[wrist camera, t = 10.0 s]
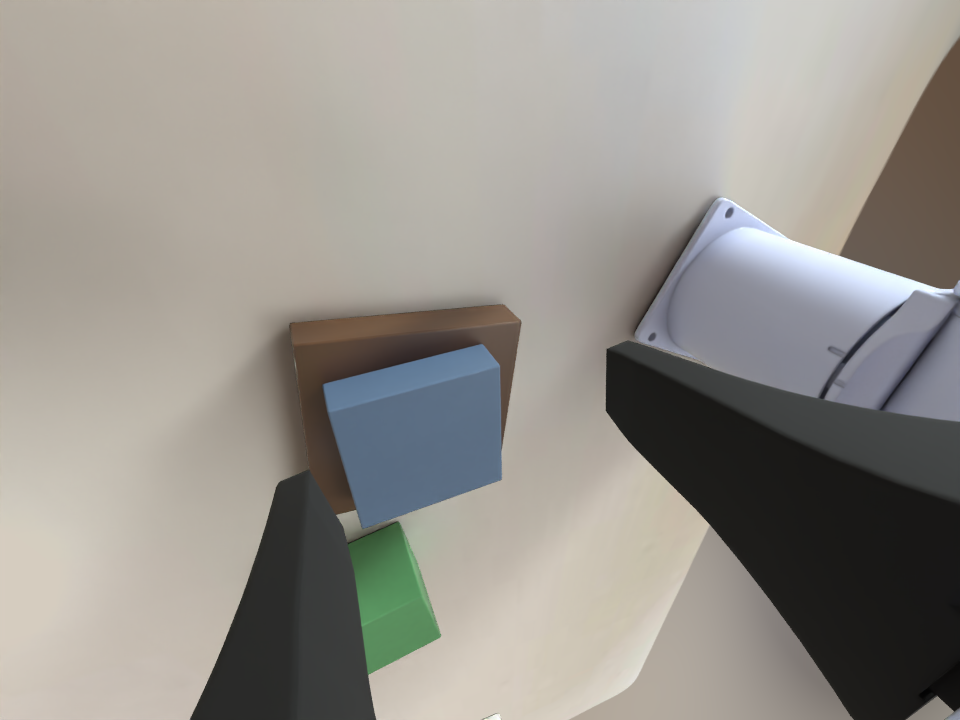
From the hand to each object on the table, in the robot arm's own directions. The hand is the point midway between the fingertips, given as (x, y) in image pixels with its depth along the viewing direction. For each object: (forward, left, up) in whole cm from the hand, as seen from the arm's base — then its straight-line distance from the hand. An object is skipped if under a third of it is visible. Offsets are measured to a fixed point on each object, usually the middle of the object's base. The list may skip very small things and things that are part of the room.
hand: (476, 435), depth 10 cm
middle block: (-3, +5, -8) cm, 10 cm away
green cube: (-5, +16, -9) cm, 19 cm away
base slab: (-3, +5, -9) cm, 11 cm away
